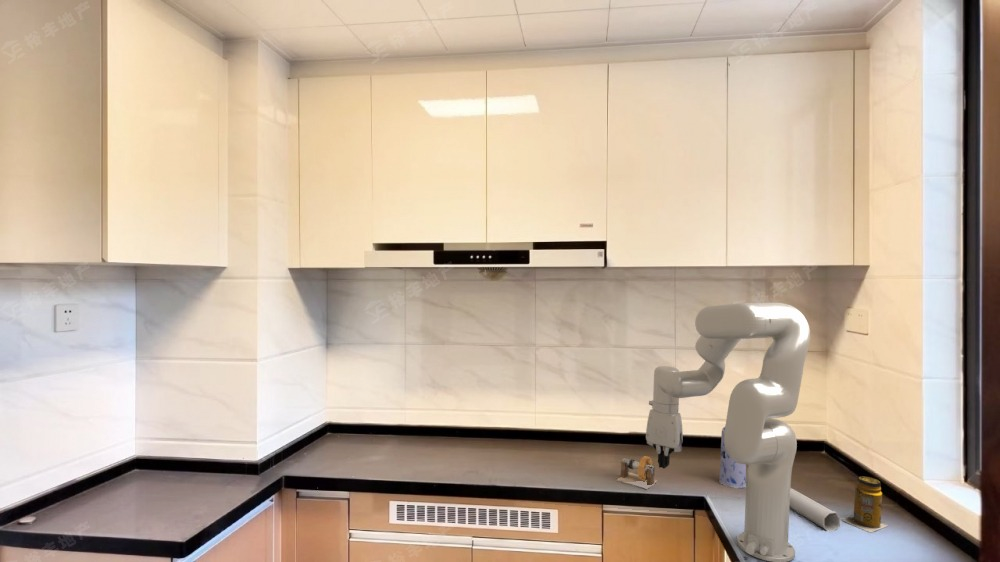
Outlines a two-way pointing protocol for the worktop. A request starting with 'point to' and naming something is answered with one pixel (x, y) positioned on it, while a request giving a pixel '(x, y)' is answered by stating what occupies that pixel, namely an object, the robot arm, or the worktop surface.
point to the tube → (814, 511)
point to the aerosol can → (731, 469)
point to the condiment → (867, 505)
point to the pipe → (636, 465)
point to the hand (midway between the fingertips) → (663, 466)
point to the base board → (635, 475)
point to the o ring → (643, 467)
